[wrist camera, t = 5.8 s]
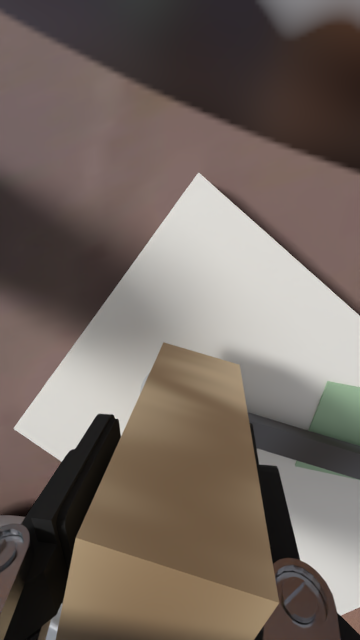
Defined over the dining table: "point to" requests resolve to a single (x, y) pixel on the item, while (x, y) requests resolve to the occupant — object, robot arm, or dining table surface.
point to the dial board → (230, 345)
